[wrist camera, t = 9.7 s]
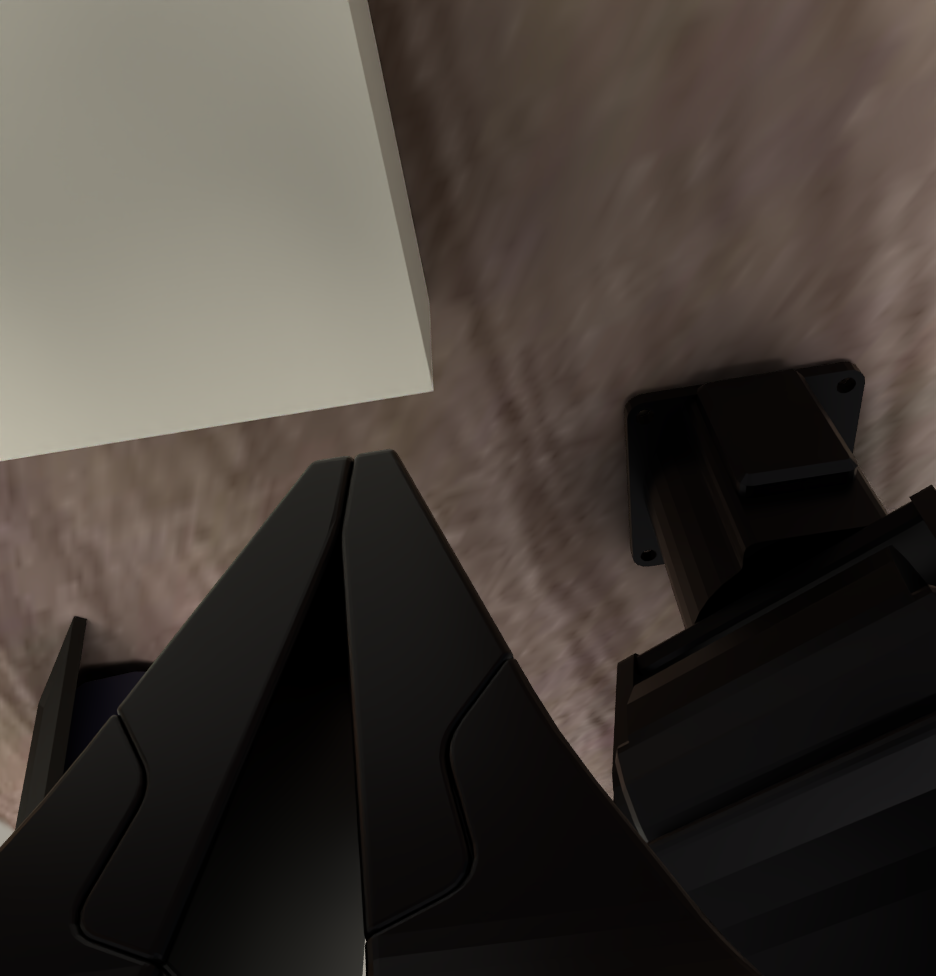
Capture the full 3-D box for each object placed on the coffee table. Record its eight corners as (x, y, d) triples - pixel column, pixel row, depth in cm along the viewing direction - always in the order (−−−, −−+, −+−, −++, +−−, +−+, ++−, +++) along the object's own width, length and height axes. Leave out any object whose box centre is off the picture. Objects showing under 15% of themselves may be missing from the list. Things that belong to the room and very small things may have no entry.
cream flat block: (429, 302, 22) (433, 391, 19) (-22, 377, 23) (-89, 475, 20) (211, -758, 12) (142, -937, 9) (-611, -559, 12) (-943, -658, 9)
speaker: (-22, 693, 31) (-117, 1021, 23) (77, 612, 29) (7, 942, 21) (159, 758, 35) (129, 1050, 28) (255, 692, 33) (249, 987, 26)
